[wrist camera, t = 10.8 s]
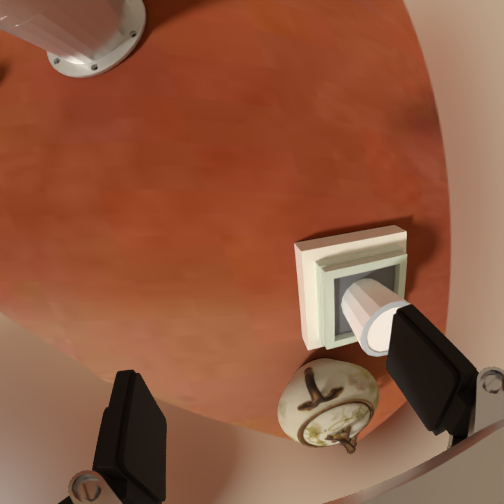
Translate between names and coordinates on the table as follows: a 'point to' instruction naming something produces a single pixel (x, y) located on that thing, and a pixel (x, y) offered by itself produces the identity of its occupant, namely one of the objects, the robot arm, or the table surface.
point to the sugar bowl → (328, 403)
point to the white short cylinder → (371, 314)
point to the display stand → (344, 278)
